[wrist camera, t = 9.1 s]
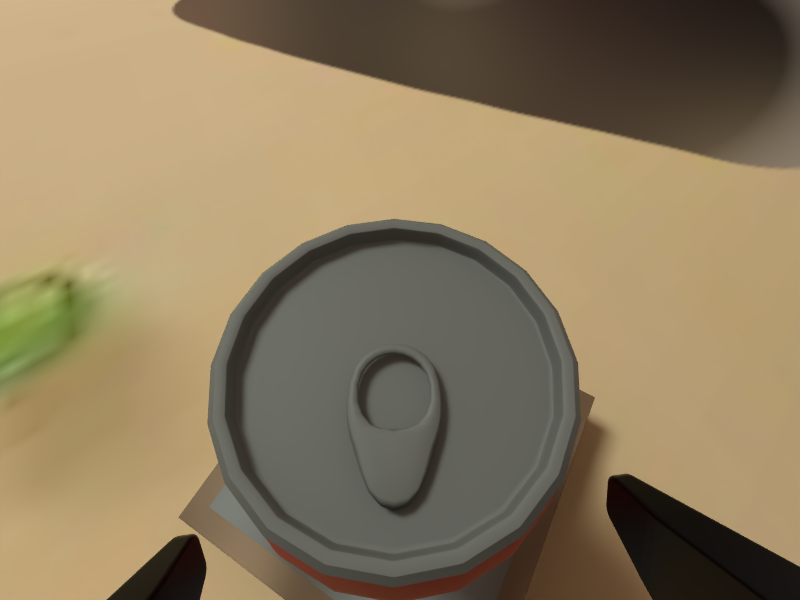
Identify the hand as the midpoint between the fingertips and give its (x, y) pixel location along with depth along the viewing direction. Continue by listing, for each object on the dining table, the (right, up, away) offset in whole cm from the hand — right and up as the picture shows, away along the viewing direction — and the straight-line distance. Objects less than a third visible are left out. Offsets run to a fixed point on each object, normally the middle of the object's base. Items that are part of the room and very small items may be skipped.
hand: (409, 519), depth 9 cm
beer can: (0, -2, +8) cm, 8 cm away
